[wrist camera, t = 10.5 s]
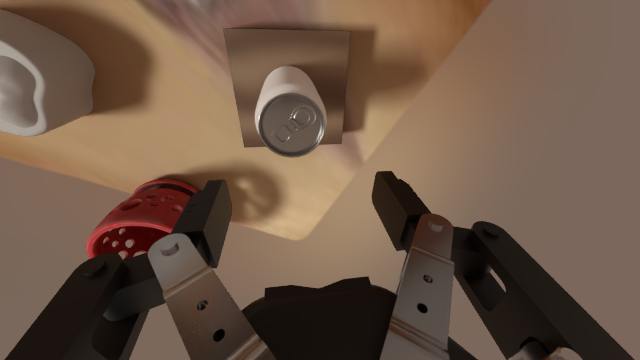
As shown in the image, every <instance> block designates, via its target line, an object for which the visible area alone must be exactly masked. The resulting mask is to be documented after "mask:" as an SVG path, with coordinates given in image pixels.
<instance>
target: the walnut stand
mask: <svg viewBox="0 0 640 360" xmlns="http://www.w3.org/2000/svg"><path fill="white" fill-rule="evenodd" d="M223 31H224V37H225V42H226V48H227V53H228V59H229V64H230V70H231V76H232V81H233V87H234V92H235V98H236V104H237V109H238V115H239V120H240V126H241V131H242V137H243V143H244V147H267V146H266V145H265V144H264V143H263V141H262V139H261V137H260V135H259V133H258V131H257V129H256V125H255V110H256V106H257V102H258V99H259V96H260V93H261V90H262V87H263V85H264V82H265V80H266V78H267V77H268V75H269V74H270V73H271V72H272V71H274V70H275V69H277V68H279V67H283V66H292V67H296V68H298V69H300V70H302V71H303V72H304V73H306V74H307V75H308V77H309V78H310V79H311V81H312V82H313V84H314V86H315V88H316V90H317V92H318V94H319V96H320V98H321V100H322V102H323V104H324V107H325V110H326V116H327V123H326V128H325V132H324V135H323V138H322V140H321V142H320V143H319V145H323V144H342V131H343V119H344V106H345V93H346V81H347V68H348V56H349V43H350V31H326V30H283V29H241V28H223Z"/></svg>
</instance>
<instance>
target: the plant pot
mask: <svg viewBox="0 0 640 360" xmlns="http://www.w3.org/2000/svg"><path fill="white" fill-rule="evenodd" d="M197 191H198V190H196V189H195V188H194V187H192V186H190V185H188V184H186V183H183V182H180V181H176V180H170V179H159V180H153V181H150V182H147V183H145V184H143V185H141V186H140V187H138V188H137V189H136V190H135V191H134V193H133V195H132V197H130V198H128V199H127V200H125V201H124V202H122V203H121V204H120V205H118V206H117V207H116V208H114V209H113V210H112V211H111V212H110V213H109V214H108V215H107V216H106V217H105V218H104V219H103V220H102V221H101V222H100V224H99V225H98V226H97V227H96V228H95V230H94V231H93V232H92V234H91V235H90V237H89V238H88V240H87V244H86V251H87V254H88V257H89V259H91V258H93V257H95V256H98V255H101V254H104V253H117V254H118V253H119V252H120V251H122V252H124V253H125V259H128V258H131V257H133V256H134V254H135V253H136V252H144V253H147V252H148V251H149V249H150V248H151V246H152V245H153V244H154V243H155V242H156V241H158V240H159V239H161V238H163V237H165V236H167V235H170V234H171V232H172V230H173V228H174V226H175V224H176V222H177V221H178V219H179V217H180V215H181V213H183V210H184V208H185V206H186V204H187V202H188V200H189V198H190V197H191V196H192V195H194V194H195V193H196V192H197ZM111 229H112V230H111ZM120 229H122V234H121V235H120V234H119V230H120ZM109 230H111V231H110V232H109ZM105 238H106V241H105V243H104V244H103V240H104V239H105ZM127 240H131V241H132V242H133V245H132V247H131V248H128V247H126V245H125V242H126V241H127ZM113 241H115V242H116V246H115V247H112V243H113ZM125 259H124V260H125Z"/></svg>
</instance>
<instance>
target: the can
mask: <svg viewBox="0 0 640 360" xmlns="http://www.w3.org/2000/svg"><path fill="white" fill-rule="evenodd" d="M326 123H327V116H326V110H325V107H324V104H323V102H322V100H321V98H320V96H319V94H318V92H317V90H316V88H315V86H314V84H313V82H312V81H311V79H310V78H309V77H308V75H307V74H306V73H304V72H303V71H302V70H300V69H298V68H296V67H292V66H283V67H279V68H277V69H275V70H274V71H272V72H271V73H270V74H269V75H268V77H267V78H266V80H265V82H264V85H263V87H262V90H261V93H260V96H259V99H258V102H257V106H256V110H255V125H256V129H257V131H258V133H259V135H260V137H261V139H262V141H263V143H264V144H265V145H266V146H267V147H268V148H269V149H270V150H271V151H272V152H274V153H276V154H278V155H281V156H284V157H300V156H303V155H306V154H308V153H310V152H311V151H313V150H314V149H315V148H316V147H317V146H318V145H319V143H320V142H321V140H322V138H323V135H324V132H325V128H326Z"/></svg>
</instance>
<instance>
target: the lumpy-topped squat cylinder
mask: <svg viewBox="0 0 640 360" xmlns="http://www.w3.org/2000/svg"><path fill="white" fill-rule="evenodd" d="M94 77H95V68H94V65H93V63H92V61H91V59H90V58H89V57H88V55H87V54H86V53H85V52H84V51H83V50H82V49H81V48H80V47H79V46H78V45H76V44H75V43H74V42H72V41H71V40H69V39H67V38H66V37H64V36H62V35H60V34H58V33H56V32H54V31H52V30H50V29H48V28H47V27H45V26H42V25H40V24H38V23H36V22H34V21H32V20H29V19H27V18H25V17H22V16H20V15H17V14H14V13H12V12H9V11H6V10H3V9H0V131H3V132H7V133H11V134H15V135H21V136H37V135H41V134H44V133H46V132H48V131H51V130H53V129H55V128H58V127H60V126H62V125H65V124H67V123H69V122H71V121H74V120H76V119H78V118H80V117H83V116H85V115H87V114H89V113H90V112H91V111H92V110H93V97H92V85H93V81H94Z"/></svg>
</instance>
